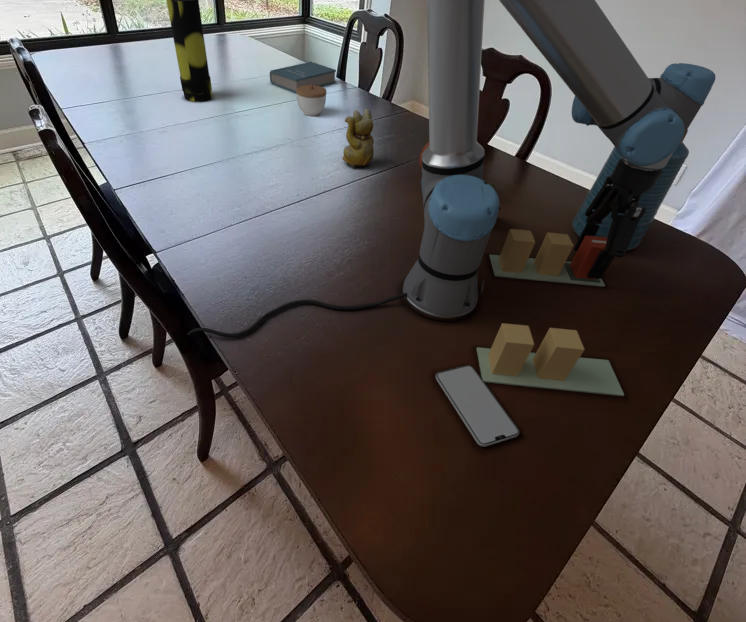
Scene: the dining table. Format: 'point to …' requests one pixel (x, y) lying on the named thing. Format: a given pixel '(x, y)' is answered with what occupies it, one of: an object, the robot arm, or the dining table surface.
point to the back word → (537, 259)
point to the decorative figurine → (359, 139)
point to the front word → (545, 362)
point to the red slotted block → (587, 255)
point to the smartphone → (477, 406)
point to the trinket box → (311, 99)
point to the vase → (647, 200)
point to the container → (190, 49)
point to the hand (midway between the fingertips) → (586, 263)
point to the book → (302, 76)
